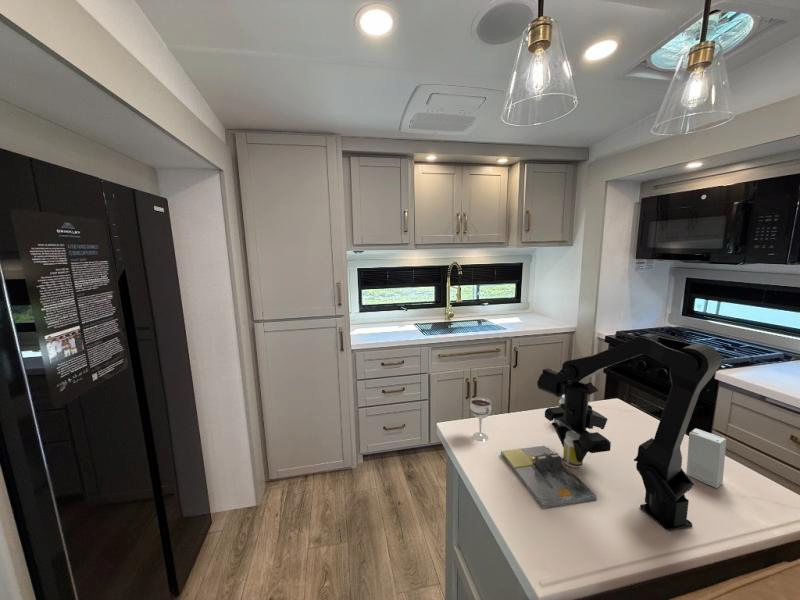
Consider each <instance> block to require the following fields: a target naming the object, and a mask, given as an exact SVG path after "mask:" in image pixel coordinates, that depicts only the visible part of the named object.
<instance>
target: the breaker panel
mask: <svg viewBox="0 0 800 600" xmlns="http://www.w3.org/2000/svg"><path fill="white" fill-rule="evenodd" d="M516 449H517V448H516ZM516 449H513V450H516ZM520 449H521V450H522V451H523V452H524V453H525V454H526V455H527V456H528V457H529V458H530V460H531V461H532V464H533V465H532V466H525V467H518V468H514V467H513V466H512V464H511V463H510V462H509V461H508V459H507V458H506V457H505V456H504V454H503V453H502V451H503V450H501V451H500V456H501V457H502V458H503V460H504V461H505V463H506V464H507V465H508V466H509V467H510V469H511V470H512V471H513V473H514V474H515V475H516V476H517V478H518V479H519V480H520V481H521V483H522V484H523V486H524V487H525V488H526V489H527V490H528V492H529V493H530V494H531V496H532V497H533V498H534V499H535V500H536V502H537V503H538V505H539V506H540V507H541V509H546V508H547V509H548V508H554V507H561V506H565V505H566V506H567V505H571V504H577V503H585V502H590V501H596V500H597V494H596V493H595V492H594V491H593V490H592V489H590V487H589V486H587V485H586V483H585V482H584V481H582V480H581V479H580V478H579V477H578V476H577V475H576V474H575V473H574V472H573V470H571V469H570V468H569V467H567V465H565V463H564V462H562V466H561V468H559V469H553V468H552V467H551V466H550V465H549V454H554V453H553V452H552V451H551V450H550V449H548V447H547V446H545V445H540V446H531V447H524V448H522V447H521V448H520ZM508 450H509V449H507V450H505V451H508ZM539 455H544V456H545V457H546V458H547V459H548V470H544V471H539V470H538V469H537V468H536V466H535V456H539Z"/></svg>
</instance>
